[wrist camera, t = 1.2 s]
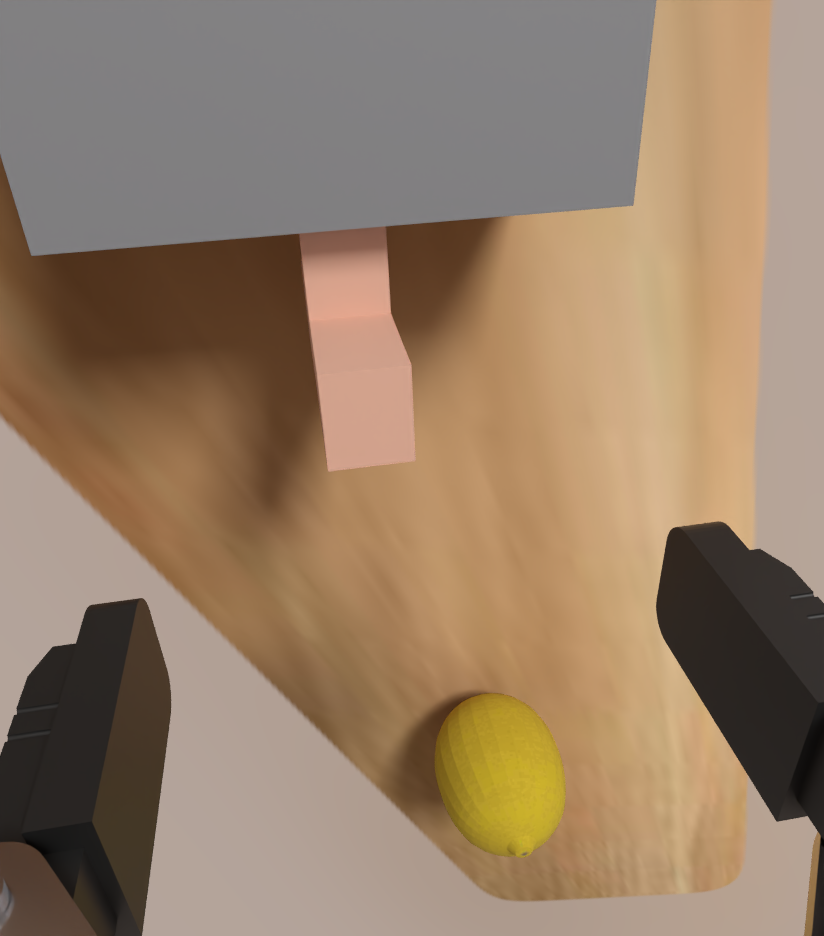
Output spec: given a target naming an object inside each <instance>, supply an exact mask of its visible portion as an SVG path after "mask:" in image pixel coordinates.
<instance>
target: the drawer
mask: <svg viewBox="0 0 824 936" xmlns="http://www.w3.org/2000/svg"><path fill="white" fill-rule="evenodd" d="M299 239H300V248H301V256H302V261H301V267H302V275H303V284H304V292H305V301H306V309H307V318H308V326H309V335H310V342H311V350H312V357H313V364H314V372H315V379H316V386H317V394H318V401H319V408H320V415H321V423H322V430H323V437H324V445H325V452H326V459H327V467H328V471H336V470H344V469H353V468H361V467H369V466H378V465H386V464H394V463H403V462H411V461H415V438H414V415H413V392H412V368H411V363H410V360H409V358H408V355H407V353H406V350H405V348H404V345H403V342H402V340H401V337H400V335H399V332H398V330H397V327H396V325H395V322H394V320H393V317H392V315H391V307H390V289H389V271H388V253H387V235H386V226H383V227H371V228H360V229H348V230H336V231H324V232H312V233H300V234H299Z"/></svg>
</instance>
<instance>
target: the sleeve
mask: <svg viewBox="0 0 824 936" xmlns="http://www.w3.org/2000/svg"><path fill="white" fill-rule="evenodd" d="M655 7H656V0H0V155H1V158H2V162H3V165H4V168H5V171H6V175H7V178H8V181H9V185H10V188H11V191H12V194H13V198H14V201H15V204H16V207H17V211H18V214H19V217H20V220H21V224H22V227H23V230H24V234H25V237H26V240H27V243H28V247H29V250H30V253H31V256H37V255H49V254H61V253H73V252H85V251H97V250H109V249H120V248H132V247H144V246H156V245H168V244H180V243H192V242H204V241H216V240H228V239H240V238H252V237H264V236H276V235H288V234H300V233H312V232H324V231H336V230H348V229H360V228H371V227H383V226H395V225H407V224H419V223H431V222H443V221H455V220H467V219H479V218H491V217H503V216H515V215H527V214H539V213H551V212H563V211H575V210H587V209H599V208H610V207H622V206H633V204H634V195H635V186H636V177H637V168H638V159H639V150H640V141H641V132H642V123H643V114H644V105H645V97H646V88H647V79H648V70H649V61H650V52H651V43H652V34H653V25H654V16H655Z"/></svg>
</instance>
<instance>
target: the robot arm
mask: <svg viewBox="0 0 824 936" xmlns="http://www.w3.org/2000/svg"><path fill="white" fill-rule="evenodd" d="M656 611H657V619H658V624H659V627H660V630H661V633H662V636H663V638H664V640H665V642H666V643H667V645H668V647H669V648H670V650H671V651H672V653H673V655H674V656H675V658H676V659H677V661H678V663H679V664H680V666H681V668H682V669H683V671H684V672H685V674H686V676H687V677H688V679H689V680H690V682H691V684H692V685H693V687H694V689H695V690H696V692H697V693H698V695H699V697H700V698H701V700H702V702H703V703H704V705H705V706H706V708H707V710H708V711H709V713H710V714H711V716H712V718H713V719H714V721H715V723H716V724H717V726H718V727H719V729H720V731H721V732H722V734H723V735H724V737H725V739H726V740H727V742H728V744H729V745H730V747H731V748H732V750H733V752H734V753H735V755H736V756H737V758H738V760H739V761H740V763H741V765H742V766H743V768H744V769H745V771H746V773H747V774H748V776H749V778H750V779H751V781H752V782H753V784H754V786H755V787H756V789H757V790H758V792H759V794H760V795H761V797H762V799H763V800H764V802H765V803H766V805H767V807H768V808H769V810H770V811H771V813H772V815H773V816H774V818H775V820H776V821H783V820H788V819H794V818H799V817H805V816H808V817H809V819H810V820H811V821H812V823H813V825H814V826H815V827H816V829H817V831H818V833H817V835H816V837H815V840H814V844H813V851H812V861H811V872H810V882H809V892H808V902H807V913H806V923H805V933H804V936H824V603H823V602H822V601H821V600H820V599H819V598H818V597H814V595H813V591H812V590H811V589H810V588H809V587H808V586H807V585H806V583H805V582H803V580H802V579H801V578H800V577H799V576H798V575H797V574H796V573H795V571H794V570H793V569H792V568H791V567H789V566H787V565H786V564H784V563H782V562H780V561H779V560H777V559H776V558H774V557H772V556H771V555H769V554H767V553H766V552H764V551H763V550H761V549H755V550H749V549H748V548H747V547H746V546H745V545H744V543H743V542H742V541H741V540H740V539H739V538H738V537H737V535H736V534H735V533H734V532H733V531H732V530H731V528H730V527H729V526H728V525H726V524H725V523H723V522H711V523H704V524H696V525H689V526H682V527H675V528H673V529H672V530H671V531H670V532H669V534H668V537H667V542H666V548H665V554H664V560H663V565H662V571H661V577H660V583H659V589H658V595H657V602H656ZM170 715H171V690H170V683H169V676H168V671H167V668H166V665H165V661H164V658H163V654H162V651H161V647H160V644H159V641H158V638H157V634H156V631H155V627H154V624H153V621H152V617H151V614H150V610H149V607H148V605H147V603H146V601H145V600H144V599H143V598H139V599H133V600H125V601H117V602H110V603H103V604H95V605H90V606H89V607H88V608H87V610H86V612H85V615H84V618H83V622H82V625H81V629H80V632H79V636H78V639H77V642H76V644H69V645H62V646H55V647H52V648H51V650H50V651H49V652H48V653H47V654H46V655H45V657H44V658H43V659H42V660H41V661H40V662H39V664H38V665H37V666H36V667H35V669H34V670H33V671H32V672H31V673H30V674H29V676H28V677H27V680H26V683H25V686H24V689H23V691H22V694H21V697H20V700H19V703H18V706H17V715H14V717H13V720H12V723H11V726H10V729H9V732H8V735H7V736H8V741H7V742H5V743H4V746H3V749H2V752H1V755H0V936H142V931H143V923H144V916H145V908H146V900H147V893H148V884H149V877H150V869H151V862H152V854H153V846H154V839H155V831H156V823H157V816H158V807H159V800H160V793H161V784H162V777H163V769H164V762H165V754H166V747H167V738H168V731H169V723H170Z"/></svg>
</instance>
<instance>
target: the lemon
mask: <svg viewBox="0 0 824 936" xmlns="http://www.w3.org/2000/svg"><path fill="white" fill-rule="evenodd" d="M435 774H436V779H437V783H438V787H439V790H440V794H441V797H442V800H443V802H444V805H445V807H446V809H447V812H448V814H449V816H450V817H451V819H452V821H453V823H454V824H455V826H456V827H457V828H458V830H459V831H460V832H461V833H462V834H463V836H464V837H465V838H466V839H467V840H468V841H469V842H470V843H472V844H473V845H475V846H477V847H478V848H480V849H482V850H483V851H485V852H488V853H491V854H495V855H498V856H508V857H512V856H517V857H519V858H523V857H527V856H529V855H530V854H531V853H532V851H533V850H535V849H537V848H539V847H540V846H541V845H542V844H543V843H545V842H546V841H547V840H548V839H549V838H550V836H551V835H552V834H553V832H554V831H555V830H556V828H557V826H558V824H559V822H560V819H561V817H562V815H563V811H564V807H565V792H566V789H565V775H564V769H563V764H562V760H561V757H560V754H559V751H558V748H557V746H556V743H555V741H554V738H553V736H552V734H551V732H550V730H549V729H548V727H547V725H546V724H545V723H544V721H543V720H542V719H541V718H540V717H539V716H538V714H537V713H536V712H535V711H534V710H533V709H532V708H531V707H530V706H528V705H527V704H525V703H523V702H522V701H520V700H518V699H516V698H514V697H512V696H508V695H504V694H499V693H487V694H480V695H477V696H474V697H471V698H469V699H467V700H465V701H463V702H462V703H460V704H459V705H458V706H457V707H455V708H454V709H453V710H452V711H451V713H450V714H449V715H448V716H447V718H446V719H445V721H444V722H443V725H442V727H441V729H440V731H439V734H438V736H437V741H436V749H435Z"/></svg>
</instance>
